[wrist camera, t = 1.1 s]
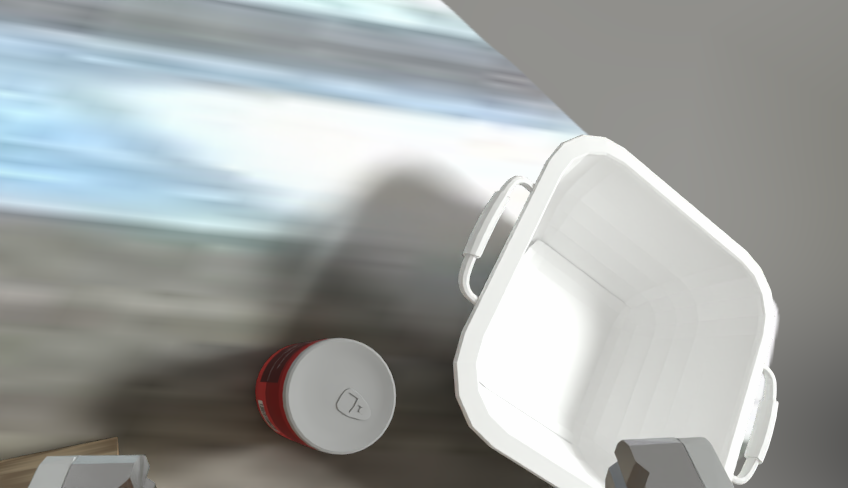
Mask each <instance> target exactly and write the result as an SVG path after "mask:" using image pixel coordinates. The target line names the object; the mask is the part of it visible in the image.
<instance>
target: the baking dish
mask: <svg viewBox="0 0 848 488" xmlns="http://www.w3.org/2000/svg"><path fill="white" fill-rule="evenodd" d="M516 185H522V186H523V187H525V188H526V189H527V190H528V191H529V192H530V195H529V197H528V199H527V201H526V203H525V205H524V207H523V209H522V211H521V213H520V215H519V217H518V219H517V221H516V223H515V225H514V227H513V229H512V231H511V233H510V235H509V237H508V239H507V241H506V243H505V245H504V247H503V249H502V251H501V253H500V255H499V257H498V259H497V261H496V263H495V265H494V267H493V270H492V272H491V274H490V276H489V278H488V280H487V282H486V284H485V286H484V288H483V290H482V292H481V294H480V296H479V297H477V296H476V295H475V294H474V293H473V292H472V290H471V289H470V285H469V280H470V275H471V272H472V268H473V265H474V263H475V260H476V259H478V258H480V257H481V255H482V253H483V251H484V249H485V247H486V244H487V242H488V240H489V238H490V236H491V234H492V232H493V230H494V228H495V226H496V224H497V222H498V220H499V218H500V216H501V214H502V213H503V211H504V209H505V207H506V205H507V204H508V202H509V200H510V198H509V197H508V196H509V194H510V193H511V191H512V190H513V189H514V187H515V186H516ZM462 255H463V256H464V259H463V262H462V264H461V267H460V272H459V277H458V285H459V288H460V291H461V293H462V294H463V295H464V297H465V298H466V299H467V300H469V301H470V302H471V303H472V304H473V305H474V308H473V310H472V312H471V314H470V316H469V318H468V320H467V322H466V324H465V326H464V328H463V330H462V332H461V336H460V339H459V343H458V346H457V350H456V354H455V357H454V361H453V370H454V384H455V397H456V399H457V401H458V403H459V406H460V408H461V410H462V412H463V415H464V417H465V419H466V421H467V424H468V426H469V427H470V428H471V429H472V430H473V431H474V432H475V433H476V434H477V435H478V436H479V437H480V438H481V439H482V440H483V441H484V442H485V443H486V444H487V445H488V446H489V447H490V448H492V449H494V450H495V451H497V452H498V453H500V454H502V455H503V456H505V457H507V458H508V459H510V460H511V461H513V462H515V463H516V464H518V465H519V466H521V467H523V468H524V469H526V470H527V471H529V472H531V473H532V474H534V475H535V476H537V477H539V478H540V479H542V480H543V481H545V482H547V483H548V484H550V485H551V486H553V487H555V488H605V478H606V475H607V472H608V468H609V467H610V466H612V465H613V464H614V463H616V462H617V458H616V456H615V453H614V452H615V449H616V446H617V444H618V443H619V442H620V441H621V440H626V439H648V438H670V437H674V438H691V437H704V438H706V439H707V440H708V441H709V442H710V443H711V444H712V446H713V448H714V450H715V452H716V454H717V456H718V458H719V460H720V461H721V463H722V465H723V467H724V469H725V471H726V473H727V475H728V477H729V479H730V480H731V482H732V483H735V484H740V485H741V484H744V483H746V482H747V481H748V480H749V479H750V478H751V477H752V475H753V473H754V472H755V470H756V468H757V466H758V464H762V462H763V459H764V457H765V455H766V452H767V450H768V447H769V443H770V440H771V437H772V433H773V429H774V425H775V421H776V415H777V409H778V401H776V379H775V376H774V374H773V372H772V371H771V370H770V368H769V367H767V366H766V365H765V361H766V358H767V354H768V351H769V347H770V344H771V340H772V335H773V326H774V318H775V313H774V307H773V300H772V294H771V290H770V287H769V285H768V283H767V280H766V278H765V276H764V274H763V271H762V269H761V268H760V267H759V265H758V264H757V263H756V262H755V261H754V259H753V258H752V257H751V256H750V255H749V253H748V252H747V251H746V250H744V249H743V248H742V247H741V246H740V245H739V244H737V243H736V242H735V241H734V240H733V239H731V238H730V237H729V236H728V235H727V234H725V233H724V232H723V231H722V230H721V229H720V228H718V227H717V226H716V225H715V224H714V223H712V222H711V221H710V220H709V219H708V218H707V217H705V216H704V215H703V214H702V213H701V212H699V211H698V210H697V209H696V208H695V207H694V206H692V205H691V204H690V203H689V202H688V201H686V200H685V199H684V198H683V197H682V196H681V195H679V194H678V193H677V192H676V191H675V190H673V189H672V188H671V187H670V186H669V185H667V184H666V183H665V182H664V181H663V180H661V179H660V178H659V177H658V176H657V175H656V174H654V173H653V172H652V171H651V170H650V169H648V168H647V167H646V166H645V165H644V164H643V163H641V162H640V161H639V160H638V159H637V158H635V157H634V156H633V155H632V154H631V153H630V152H628V151H627V150H626V149H625V148H623V147H621V146H620V145H618V144H616V143H614V142H612V141H611V140H609V139H607V138H605V137H598V136H589V135H580V136H577V137H575V138H573V139H570V140H568V141H565V142H563V143H561V144H560V145H559V146H558V147H557V149H556V150H555V151H554V152H553V153H552V155H551V156H550V157H549V158H548V160H547V161H546V162H545V164H544V167H543V169H542V171H541V173H540V175H539V177H538V179H537V181H536V183H535V184H533V183H532V182H531V181H530V180H528V179H527V178H525V177H523V176H514V177H512V178H510V179H509V180H508V181H507V182H506V183H505V184H504V185H503V186H502V187H501V189H500V190H499V191H497V192H495V193H494V195H493V196H492V198H491V199H490V200H489V202H488V203H487V205H486V206H485V208H484V210H483V212H482V213H481V215H480V217H479V219H478V221H477V222H476V224H475V226H474V229H473V231H472V233H471V235H470V237H469V239H468V242H467V244H466V247H465V249H464V252H463V254H462ZM762 373H763V375H764V377H765V389H764V397H763V400H760V401H759V405H758V409H757V414H756V418H755V422H754V425H753V429H752V432H751V436H750V439H749V442H748V445H747V448H746V451H745V454H744V457H745V458H747V459H746V461H745V463H744V466H743V468H742V470H741V472H740V474H739V475H738V476H734V475H733V474H734V470H735V466H736V463H737V459H738V456H739V452H740V449H741V445H742V442H743V438H744V435H745V431H746V428H747V424H748V421H749V417H750V414H751V410H752V407H753V403H754V400H755V396H756V393H757V389H758V386H759V382H760V379H761V375H762Z"/></svg>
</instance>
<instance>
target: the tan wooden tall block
mask: <svg viewBox="0 0 848 488" xmlns="http://www.w3.org/2000/svg"><path fill="white" fill-rule="evenodd" d="M73 455H81V456H87V455H119V447H118V437H114V438H109V439H104V440H99V441H95V442H90V443H85V444H80V445H75V446H70V447H65V448H60V449H55V450H50V451H45V452H40V453H36V454H31V455H26V456H21V457H16V458H11V459H6V460H1V461H0V488H28V486H29V484H30V482H31V480H32V478H33V475H34V473H35V471H36V469H37V467H38V466H39V465H40V463H41V462H42V461H43V460H44V459H45V458H46V457H47V456H73Z"/></svg>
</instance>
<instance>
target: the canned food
mask: <svg viewBox="0 0 848 488" xmlns="http://www.w3.org/2000/svg"><path fill="white" fill-rule="evenodd" d="M255 393H256V402H257V406H258V410H259V412H260V414H261V416H262V418H263V420H264V421H265V422H266V423H267V425H268V426H269V427H270V428H271V429H273V430H274V431H275V432H276V433H278V434H280V435H282V436H284V437H285V438H288V439H290V440H293V441H295V442H297V443H300V444H302V445H305V446H307V447H309V448H312V449H315V450H318V451H321V452H325V453H328V454H339V455H341V454H342V455H343V454H350V453H355V452H358V451H361V450H363V449H365V448H367V447H368V446H370V445H372V444H373V443H374V442H375V441H377V440H378V439H379V438H380V437H381V436H382V434H383V433H384V432H385V430H386V429H387V428H388V426H389V423H390V421H391V419H392V417H393V413H394V409H395V403H396V390H395V383H394V380H393V377H392V374H391V372H390V370H389V368H388V366H387V364H386V363H385V361H384V360H383V359H382V357H381V356H380V355H379V354H378V353H377V352H375V351H374V350H373V349H372V348H370V347H368V346H367V345H365V344H363V343H361V342H358V341H355V340H351V339H345V338H329V339H321V340H315V341H309V342H304V343H298V344H293V345H290V346H286V347H284V348H282V349H280V350H278V351H277V352H276V353H274V354H273V355H272V356H271V357H270V358H269V359H268V360H267V361H266V362H265V363H264V365H263V367H262V369H261V370H260V372H259V375H258V378H257V382H256V390H255Z"/></svg>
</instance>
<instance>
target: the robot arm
mask: <svg viewBox="0 0 848 488" xmlns="http://www.w3.org/2000/svg"><path fill="white" fill-rule="evenodd" d="M614 453H615V456H616V458H617V462H616V463H614V464H613V465H612V466H610V467H609V468H608V472H607V475H606V478H605V488H734V486H733V484H732V482H731V480H730V479H729V477H728V475H727V473H726V471H725V469H724V467H723V465H722V463H721V461H720V460H719V458H718V456H717V454H716V452H715V450H714V448H713V446H712V444H711V443H710V442H709V441H708V440H707V439H706V438H704V437H691V438H674V437H670V438H648V439H626V440H621V441H620V442H619V443H618V444H617V446H616V449H615V452H614ZM149 468H150V466H149V463H148V461H147V458H146V456H145V455H87V456H81V455H73V456H47V457H46V458H45V459H44V460H43V461H42V462H41V463H40V465H39V466H38V467H37V469H36V471H35V473H34V475H33V478H32V480H31V482H30V484H29V486H28V488H156V485H155V483H154V482H153V481H151V480H150V479H148V478H147V474H148V471H149Z"/></svg>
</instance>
